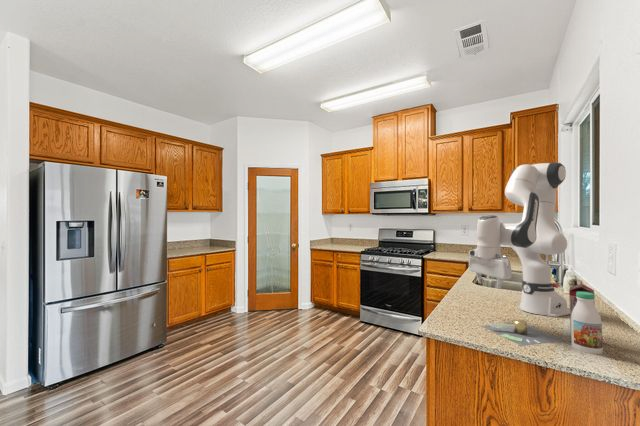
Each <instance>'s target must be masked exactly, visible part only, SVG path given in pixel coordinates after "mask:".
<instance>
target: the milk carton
mask: <svg viewBox="0 0 640 426" xmlns="http://www.w3.org/2000/svg"><path fill="white" fill-rule="evenodd" d="M580 291H581V292H589V293H593V294H594V295H595V290H594V288H591V287H588V286H586V285H585V284H583V281H582V279H580V283H579V284H577V285H573V286H571V287H569V309H570V314H569V315H570V316H569V321H570V322H569V325H570V330H571V314H572V311H573V309H574V307H575V306H576V303H577V298H576V297H577V296H576V292H580ZM594 305H596V304H595V302H594Z"/></svg>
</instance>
